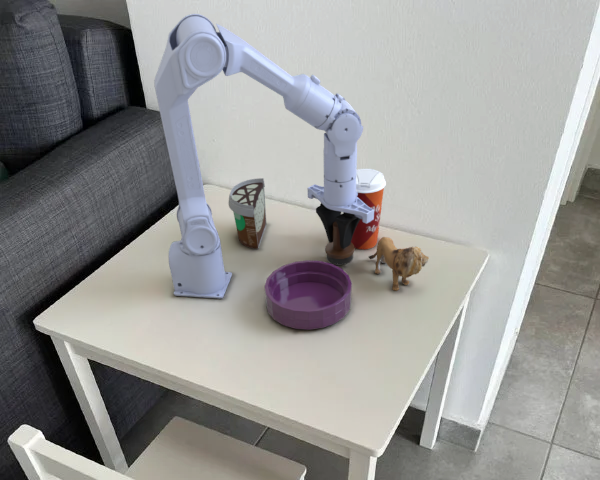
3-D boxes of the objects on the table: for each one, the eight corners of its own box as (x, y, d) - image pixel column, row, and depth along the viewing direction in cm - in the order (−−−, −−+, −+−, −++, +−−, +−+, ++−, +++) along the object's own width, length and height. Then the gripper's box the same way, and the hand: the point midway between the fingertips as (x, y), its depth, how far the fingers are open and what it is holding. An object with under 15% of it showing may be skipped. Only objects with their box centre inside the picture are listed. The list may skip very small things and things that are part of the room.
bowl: (259, 328, 109) (257, 308, 105) (275, 278, 119) (273, 258, 116) (346, 335, 107) (346, 314, 103) (354, 283, 117) (355, 262, 114)
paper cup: (380, 253, 123) (384, 187, 113) (342, 251, 125) (342, 185, 115) (383, 232, 129) (388, 167, 119) (346, 230, 130) (347, 165, 120)
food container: (239, 220, 135) (234, 176, 127) (267, 221, 134) (264, 177, 127) (227, 251, 126) (220, 206, 119) (257, 253, 125) (252, 207, 118)
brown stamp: (323, 264, 119) (323, 231, 114) (327, 248, 123) (326, 215, 118) (352, 266, 119) (353, 232, 114) (355, 249, 123) (356, 216, 117)
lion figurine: (428, 291, 114) (434, 248, 108) (406, 301, 112) (410, 258, 106) (378, 255, 123) (381, 213, 117) (357, 264, 121) (358, 222, 115)
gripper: (387, 179, 107) (382, 248, 117) (325, 155, 115) (326, 222, 124) (359, 194, 104) (357, 264, 113) (298, 168, 111) (301, 236, 121)
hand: (339, 243), depth 119 cm, fingers closed on brown stamp, 2 cm apart
